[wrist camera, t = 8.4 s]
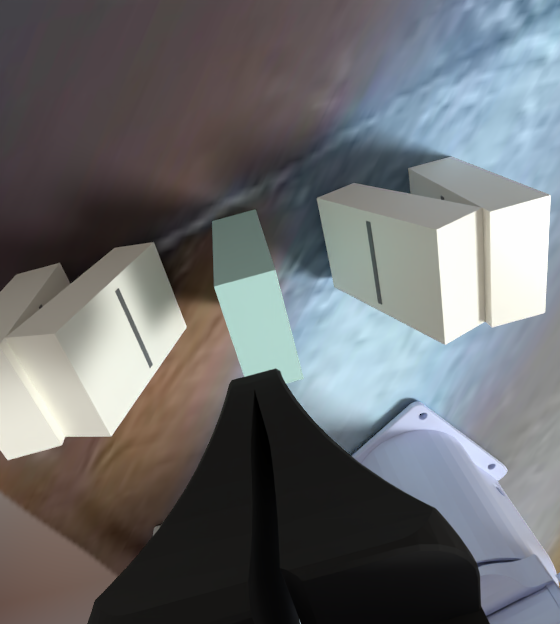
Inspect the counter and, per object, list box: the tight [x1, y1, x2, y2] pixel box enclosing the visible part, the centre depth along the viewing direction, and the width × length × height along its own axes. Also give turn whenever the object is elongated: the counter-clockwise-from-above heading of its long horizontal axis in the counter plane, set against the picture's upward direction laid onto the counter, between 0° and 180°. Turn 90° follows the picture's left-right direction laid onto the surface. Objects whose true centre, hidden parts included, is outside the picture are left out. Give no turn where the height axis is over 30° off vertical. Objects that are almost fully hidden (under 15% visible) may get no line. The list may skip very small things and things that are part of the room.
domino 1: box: [0, 263, 70, 460], centre depth 19 cm, size 2×4×7 cm, turn 13°
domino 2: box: [5, 242, 187, 437], centre depth 19 cm, size 2×4×7 cm, turn 13°
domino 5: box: [408, 156, 551, 327], centre depth 19 cm, size 2×4×7 cm, turn 13°
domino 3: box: [212, 209, 304, 384], centre depth 19 cm, size 2×4×7 cm, turn 13°
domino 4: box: [317, 183, 485, 345], centre depth 19 cm, size 2×4×7 cm, turn 13°
